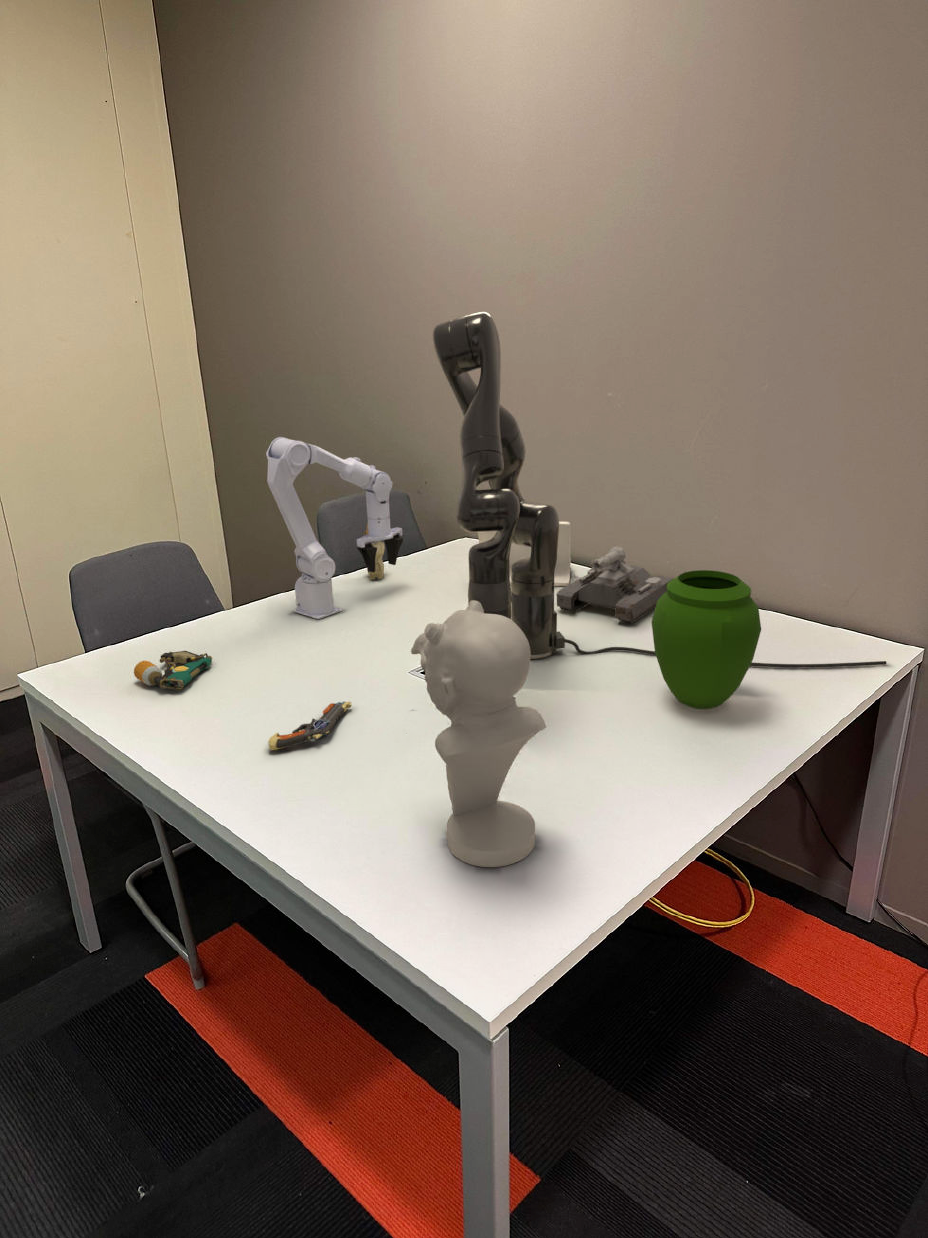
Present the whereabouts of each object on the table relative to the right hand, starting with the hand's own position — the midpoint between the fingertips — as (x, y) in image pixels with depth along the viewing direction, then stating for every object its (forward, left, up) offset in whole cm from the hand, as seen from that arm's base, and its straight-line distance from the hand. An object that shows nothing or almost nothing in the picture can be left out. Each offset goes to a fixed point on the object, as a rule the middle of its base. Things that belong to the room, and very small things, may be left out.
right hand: (491, 690), depth 155 cm
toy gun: (+33, -5, -6) cm, 34 cm away
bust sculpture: (+11, +33, -6) cm, 35 cm away
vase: (-40, +2, -6) cm, 41 cm away
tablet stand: (-29, -84, -6) cm, 89 cm away
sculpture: (+12, -93, -6) cm, 94 cm away
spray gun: (+60, -37, -6) cm, 71 cm away
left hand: (+11, -77, +1) cm, 78 cm away
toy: (-45, -54, -6) cm, 70 cm away
